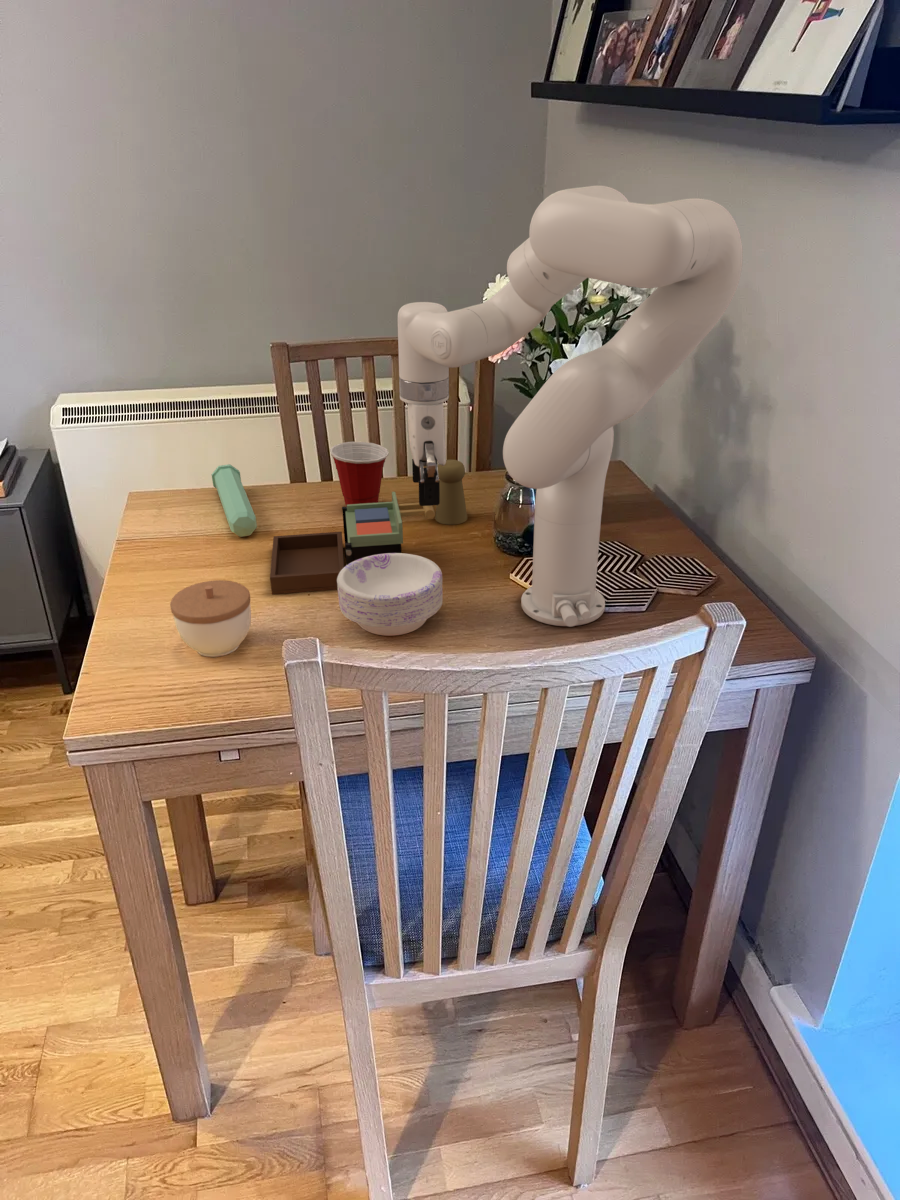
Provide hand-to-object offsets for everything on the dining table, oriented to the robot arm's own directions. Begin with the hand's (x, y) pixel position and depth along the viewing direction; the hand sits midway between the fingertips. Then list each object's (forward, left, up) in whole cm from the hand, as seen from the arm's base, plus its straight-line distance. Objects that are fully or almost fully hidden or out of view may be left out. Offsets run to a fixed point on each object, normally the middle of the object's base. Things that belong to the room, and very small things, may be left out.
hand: (425, 492), depth 141 cm
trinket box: (-22, +33, -12) cm, 41 cm away
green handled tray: (0, +6, -6) cm, 8 cm away
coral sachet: (-3, +9, -5) cm, 11 cm away
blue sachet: (+3, +9, -5) cm, 10 cm away
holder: (0, +20, -12) cm, 23 cm away
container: (+26, +34, -12) cm, 44 cm away
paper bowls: (-19, +8, -12) cm, 24 cm away
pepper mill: (+17, -6, -12) cm, 22 cm away
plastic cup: (+24, +10, -12) cm, 28 cm away
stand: (0, +9, -12) cm, 15 cm away
